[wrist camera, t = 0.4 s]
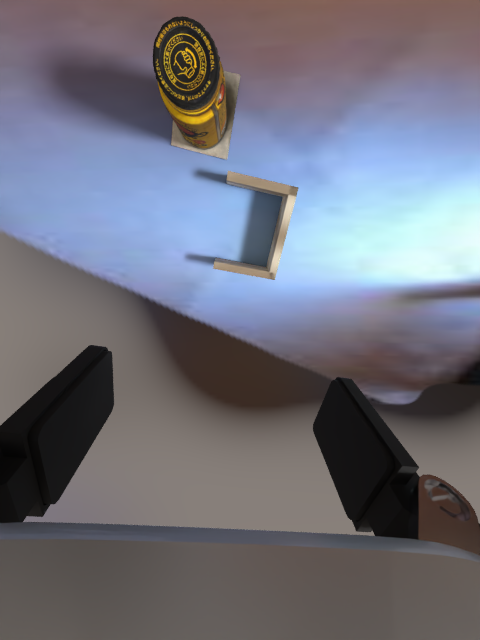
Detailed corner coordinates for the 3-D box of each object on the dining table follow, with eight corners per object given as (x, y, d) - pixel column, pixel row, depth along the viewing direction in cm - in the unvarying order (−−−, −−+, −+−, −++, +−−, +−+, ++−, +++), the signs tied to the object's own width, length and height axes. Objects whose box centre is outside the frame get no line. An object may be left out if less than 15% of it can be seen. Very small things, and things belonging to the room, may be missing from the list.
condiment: (171, 145, 30) (137, 103, 19) (177, 57, 26) (142, -57, 15) (227, 160, 31) (226, 128, 20) (240, 76, 27) (248, -18, 16)
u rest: (228, 175, 31) (227, 170, 28) (291, 190, 32) (298, 187, 29) (214, 263, 36) (213, 268, 33) (270, 274, 37) (274, 279, 34)
